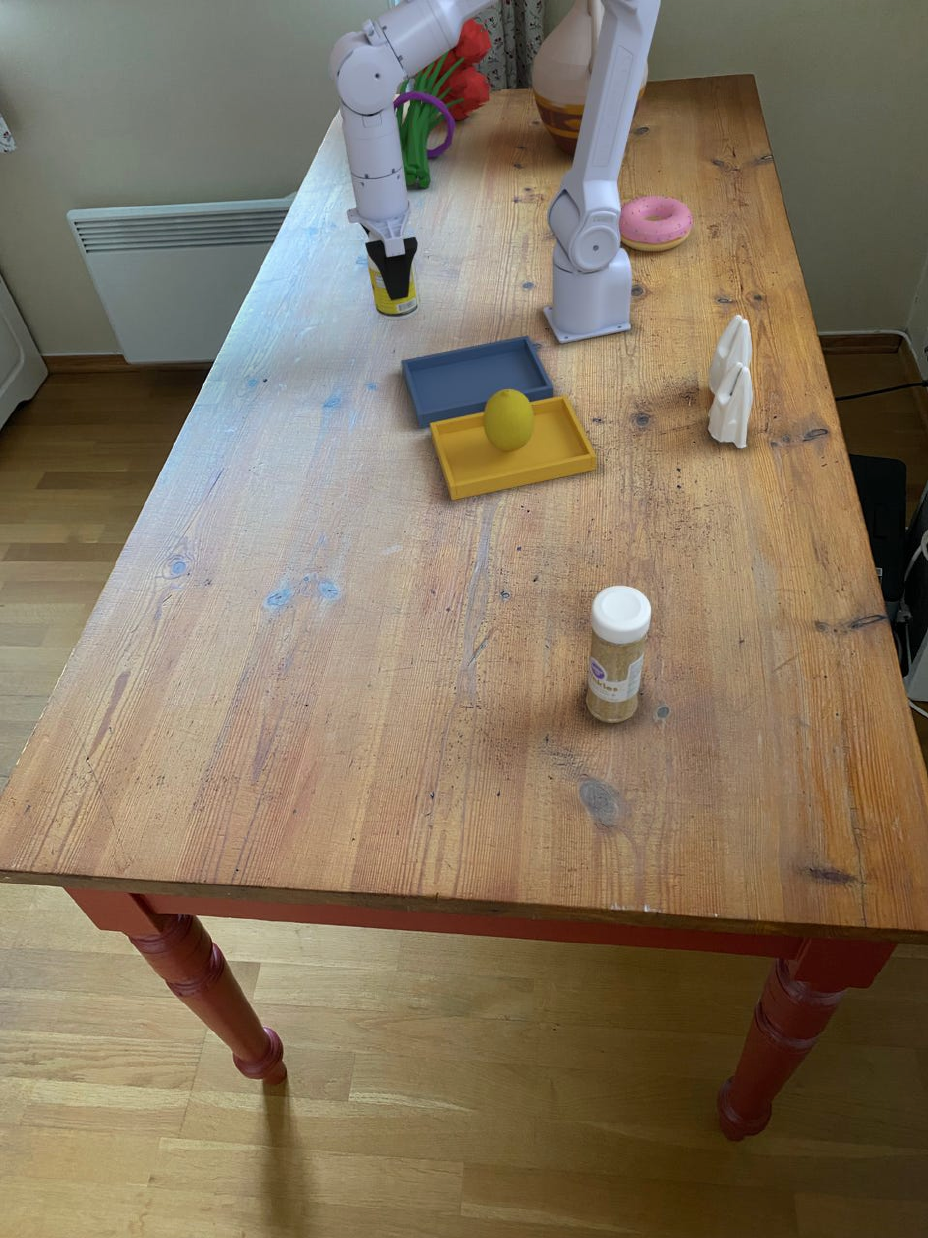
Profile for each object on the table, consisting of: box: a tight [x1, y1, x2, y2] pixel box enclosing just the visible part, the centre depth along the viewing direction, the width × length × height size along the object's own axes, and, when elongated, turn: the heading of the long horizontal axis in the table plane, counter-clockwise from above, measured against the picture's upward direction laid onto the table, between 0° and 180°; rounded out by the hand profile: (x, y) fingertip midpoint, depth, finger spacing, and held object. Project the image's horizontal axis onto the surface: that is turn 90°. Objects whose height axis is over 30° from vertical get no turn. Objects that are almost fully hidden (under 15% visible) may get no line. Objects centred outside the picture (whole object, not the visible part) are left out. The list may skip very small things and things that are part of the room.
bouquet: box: [393, 17, 493, 189], centre depth 144 cm, size 20×16×30 cm
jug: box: [531, 0, 649, 158], centre depth 134 cm, size 20×18×30 cm
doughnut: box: [618, 194, 694, 252], centre depth 125 cm, size 11×11×4 cm
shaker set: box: [707, 314, 754, 449], centre depth 97 cm, size 12×4×11 cm, turn 171°
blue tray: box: [400, 334, 554, 429], centre depth 107 cm, size 16×11×2 cm
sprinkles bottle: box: [585, 585, 652, 724], centre depth 73 cm, size 5×5×13 cm
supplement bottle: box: [366, 231, 421, 322], centre depth 104 cm, size 5×5×10 cm
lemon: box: [483, 389, 534, 451], centre depth 97 cm, size 6×6×8 cm
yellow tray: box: [429, 394, 597, 501], centre depth 99 cm, size 16×11×2 cm
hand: (394, 283), depth 105 cm, fingers closed on supplement bottle, 5 cm apart
